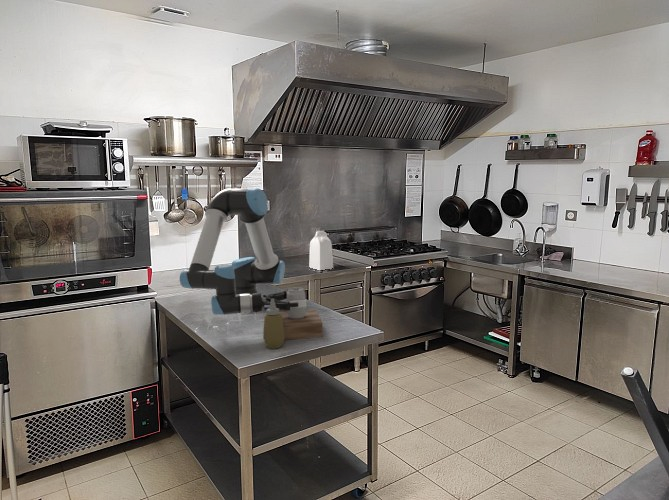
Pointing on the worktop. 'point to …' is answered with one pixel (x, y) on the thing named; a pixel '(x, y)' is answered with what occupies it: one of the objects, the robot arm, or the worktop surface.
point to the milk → (320, 252)
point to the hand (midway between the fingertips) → (304, 299)
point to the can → (296, 295)
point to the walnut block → (302, 326)
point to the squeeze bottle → (273, 327)
